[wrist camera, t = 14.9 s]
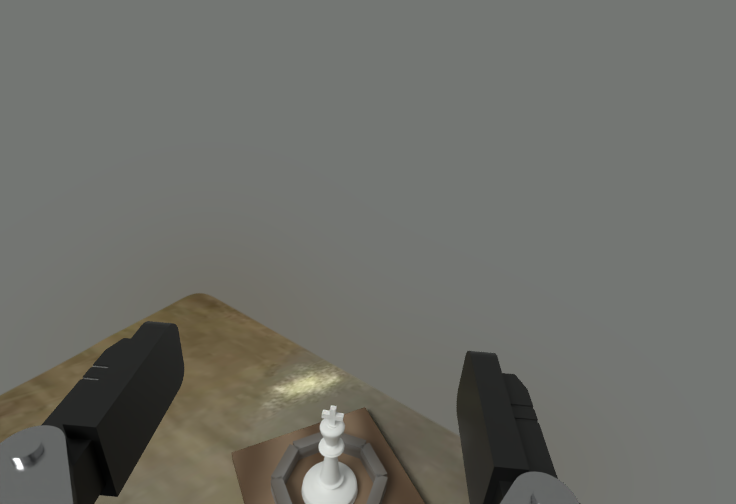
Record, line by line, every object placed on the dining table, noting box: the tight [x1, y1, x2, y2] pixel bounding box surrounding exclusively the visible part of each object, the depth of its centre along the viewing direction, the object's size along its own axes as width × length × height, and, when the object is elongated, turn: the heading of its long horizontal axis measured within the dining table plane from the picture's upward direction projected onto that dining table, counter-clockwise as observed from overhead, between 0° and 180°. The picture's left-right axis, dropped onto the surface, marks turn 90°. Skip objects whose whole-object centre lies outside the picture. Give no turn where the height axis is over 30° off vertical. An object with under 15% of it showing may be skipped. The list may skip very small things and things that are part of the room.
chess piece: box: [302, 405, 358, 504], centre depth 38 cm, size 5×5×10 cm
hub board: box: [232, 407, 425, 504], centre depth 40 cm, size 14×14×2 cm
